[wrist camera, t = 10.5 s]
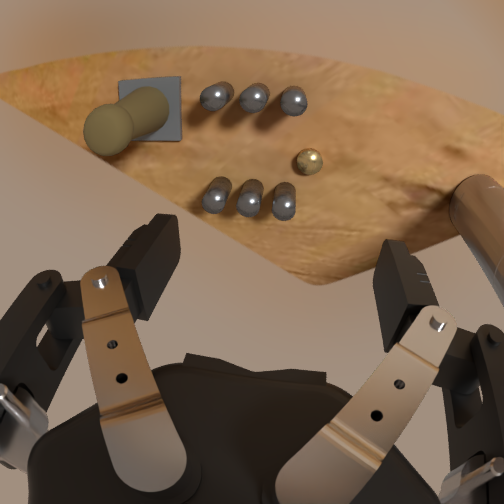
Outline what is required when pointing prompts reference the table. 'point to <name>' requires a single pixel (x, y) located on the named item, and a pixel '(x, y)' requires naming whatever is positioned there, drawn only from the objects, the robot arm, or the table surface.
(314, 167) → the glossy gold bead
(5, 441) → the robot arm
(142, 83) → the coaster
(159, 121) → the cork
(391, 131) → the table surface
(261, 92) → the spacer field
